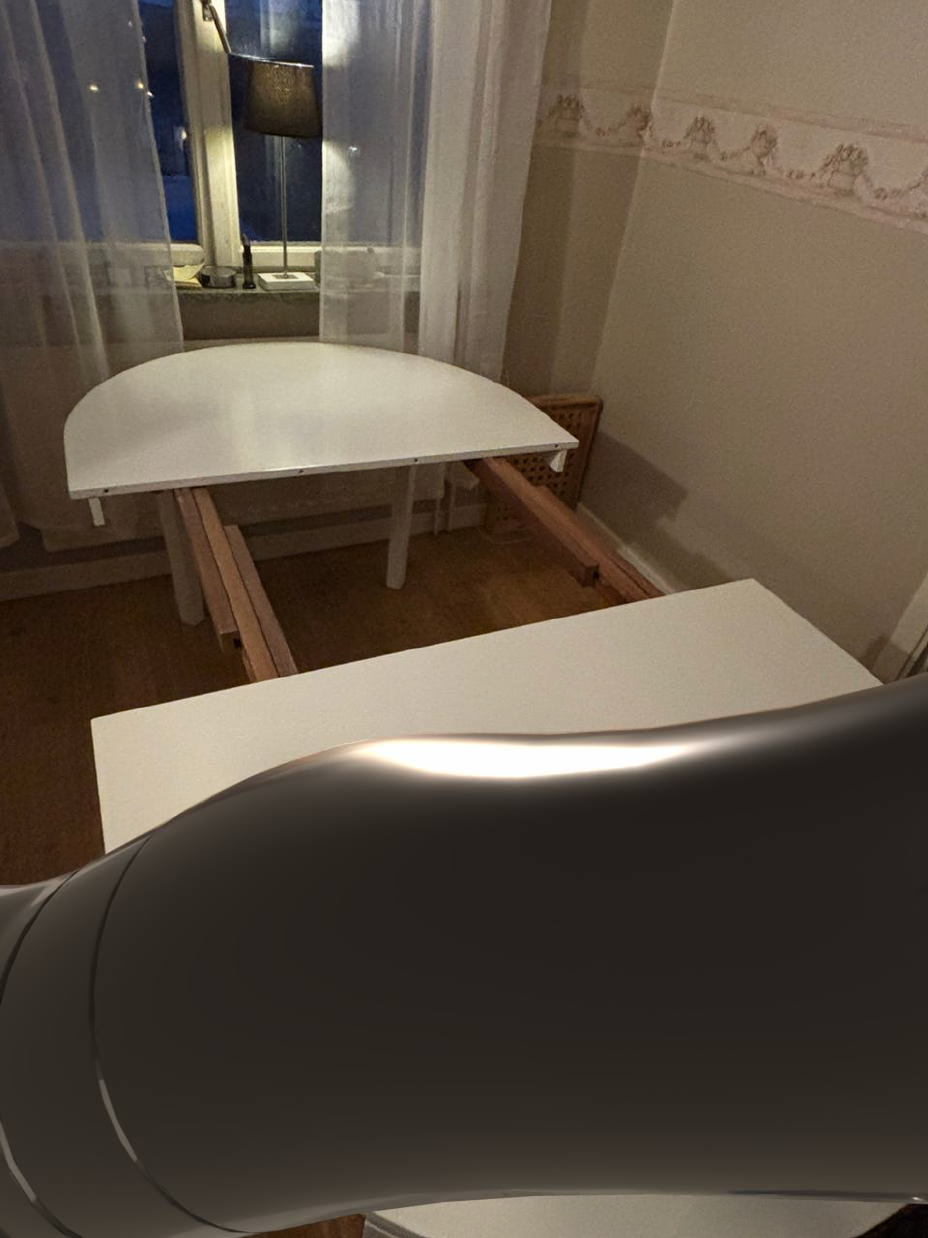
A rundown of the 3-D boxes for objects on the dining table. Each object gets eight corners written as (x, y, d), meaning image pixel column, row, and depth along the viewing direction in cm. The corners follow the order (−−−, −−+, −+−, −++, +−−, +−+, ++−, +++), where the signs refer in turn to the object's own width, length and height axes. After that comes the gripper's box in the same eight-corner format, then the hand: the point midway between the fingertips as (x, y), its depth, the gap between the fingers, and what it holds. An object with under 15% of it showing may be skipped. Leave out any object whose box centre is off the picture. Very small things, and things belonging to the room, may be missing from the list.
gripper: (489, 1040, 29) (592, 972, 44) (264, 821, 36) (419, 826, 51) (386, 1202, 29) (525, 1080, 44) (181, 952, 36) (360, 919, 51)
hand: (467, 944), depth 47 cm, fingers closed on pill bottle, 6 cm apart
